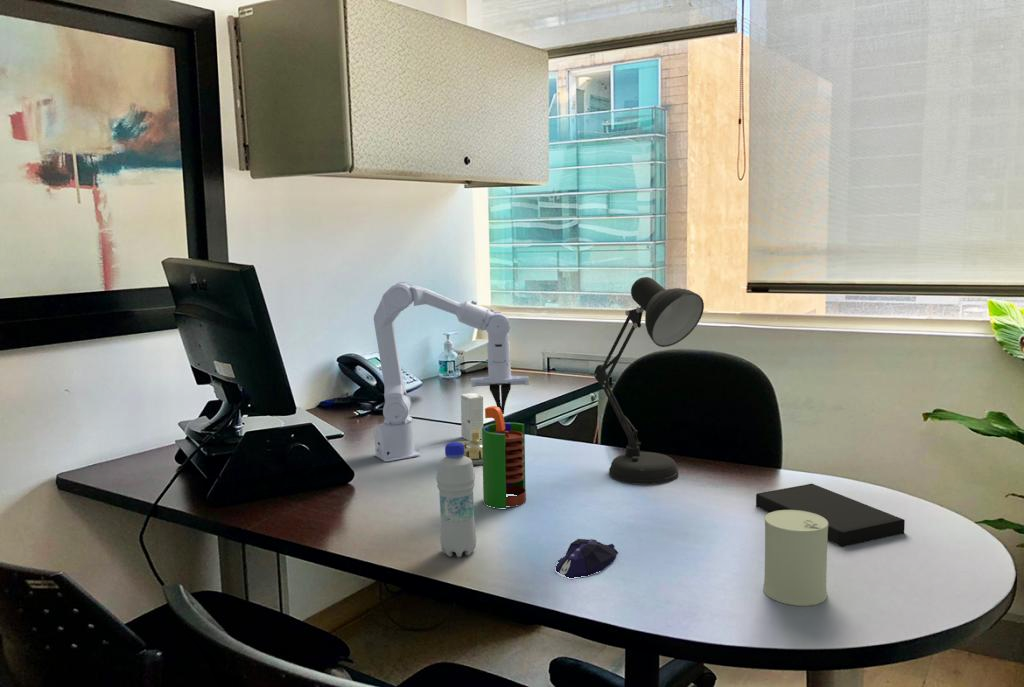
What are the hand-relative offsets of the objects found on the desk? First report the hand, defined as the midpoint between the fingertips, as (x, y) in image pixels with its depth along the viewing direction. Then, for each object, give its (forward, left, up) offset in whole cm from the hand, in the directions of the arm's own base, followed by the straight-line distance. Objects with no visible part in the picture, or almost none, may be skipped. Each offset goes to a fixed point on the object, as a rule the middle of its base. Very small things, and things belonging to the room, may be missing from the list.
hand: (501, 413), depth 204 cm
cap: (-9, -2, -10) cm, 13 cm away
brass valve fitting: (-9, -1, -9) cm, 12 cm away
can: (-2, -96, -10) cm, 96 cm away
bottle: (-38, -53, -10) cm, 66 cm away
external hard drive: (+27, -78, -11) cm, 83 cm away
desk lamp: (+17, -37, -10) cm, 42 cm away
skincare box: (0, +16, -10) cm, 19 cm away
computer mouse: (-22, -68, -11) cm, 72 cm away
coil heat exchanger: (-18, -34, -10) cm, 40 cm away
